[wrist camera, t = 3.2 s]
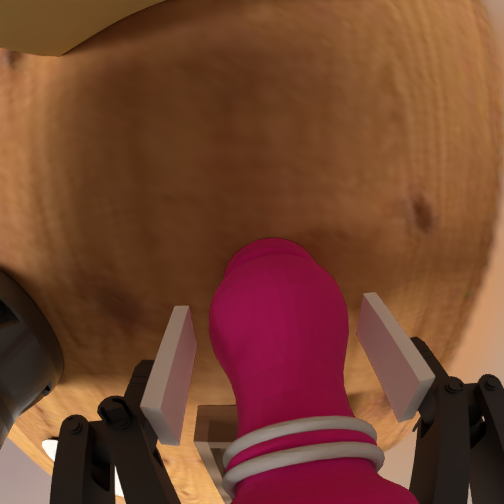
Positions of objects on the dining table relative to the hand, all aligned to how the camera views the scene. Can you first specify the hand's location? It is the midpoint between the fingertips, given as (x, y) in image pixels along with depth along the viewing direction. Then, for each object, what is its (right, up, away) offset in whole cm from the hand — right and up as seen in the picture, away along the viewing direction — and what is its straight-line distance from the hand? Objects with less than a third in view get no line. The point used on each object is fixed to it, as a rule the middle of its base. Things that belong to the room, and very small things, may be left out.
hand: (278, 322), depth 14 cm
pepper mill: (0, +2, +4) cm, 5 cm away
